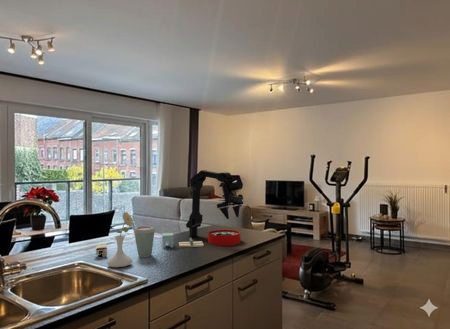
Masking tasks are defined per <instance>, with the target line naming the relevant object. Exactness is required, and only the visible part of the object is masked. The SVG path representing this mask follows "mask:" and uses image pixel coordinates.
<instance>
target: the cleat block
mask: <svg viewBox="0 0 450 329" xmlns="http://www.w3.org/2000/svg"><path fill="white" fill-rule="evenodd" d="M166 241H167V242H169V245H170V246H169V247H170V248H174V233H173V232H165V233H162V249H165V248H166Z"/></svg>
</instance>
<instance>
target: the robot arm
mask: <svg viewBox="0 0 450 329" xmlns="http://www.w3.org/2000/svg"><path fill="white" fill-rule="evenodd" d="M207 178H210V179H215V180H216V181H218V182H220V184H219V186H218V187H219V188H222V193H223V194H222V195H221V196H222V198H224V201H221V202H217V204H216V208H217V209H219V210H220V211H221V213H222V215H223V216H224V217H225V218H226V219H227V220H229V217H230V216H229V208H230V206H232V210H233V213H234V214H235V217H236V218H239V217H240V215H239V214H240V209H241V207H242V206H243V205H244V201H243V200H244V196H243V194H241V193H240V194H238V195H236V193H235V191H238V190H242V189H243V187H244V183H243V182H242V181H241V180H240V178H239V177H236V178H234V177H233V176H232V174H231V173H230V172H226V171H225V172H217V171H210V170H207V169H205V170H204V169H203V170H200V171H199V172H197V173H196V174H195V175H193V176H192V177H191V178H190V179H189V183H190V188H191V190H192V198H191V199H192V203H191V204H192V205H191V213H190V214H189V218H188V221H187V222H186V224H185V227H186V228H188V232H189V233H188V235H187V236H188V238H199V237H200V236H199V234H198V233H199V227H200V228H201V225H202V224H203V223H202V222H203V217H204V216H203V214H201V212H200V211H201V210H200V207H201V205H200V204H201V190H202V188H203V186H204V182H205V181H206V180H207Z"/></svg>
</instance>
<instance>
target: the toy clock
mask: <svg viewBox="0 0 450 329" xmlns="http://www.w3.org/2000/svg"><path fill="white" fill-rule="evenodd" d="M207 243H208V244H210V245H213V244H214V245H215V246H231V245H232V246H233V245H238V244H240V243H241V232H240V231H239V230H235V229H234V230H233V229H216V230H215V229H214V230H210V231H208V232H207Z"/></svg>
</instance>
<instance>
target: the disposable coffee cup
mask: <svg viewBox="0 0 450 329" xmlns="http://www.w3.org/2000/svg"><path fill="white" fill-rule="evenodd" d="M155 232H156V230H155V228H154V227H153V226H151V225H140V226H136V227H134V230H133V233H134V239H135V243H136V249H137V254H138V258H149V257H151V256H152V253H153V246H154V238H155Z"/></svg>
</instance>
